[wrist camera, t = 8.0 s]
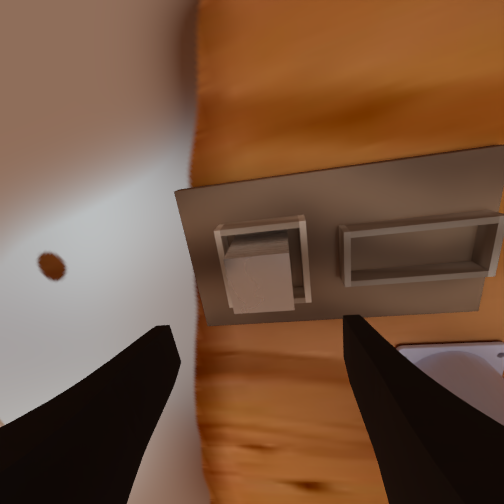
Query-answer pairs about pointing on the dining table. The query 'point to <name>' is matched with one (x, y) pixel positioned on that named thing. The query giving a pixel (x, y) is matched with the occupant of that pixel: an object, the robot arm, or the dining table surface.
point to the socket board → (359, 235)
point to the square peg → (260, 272)
